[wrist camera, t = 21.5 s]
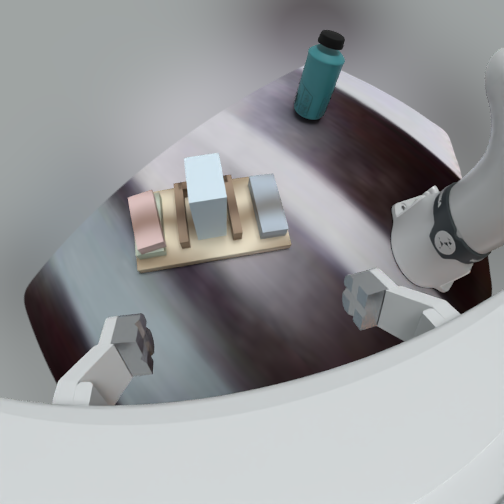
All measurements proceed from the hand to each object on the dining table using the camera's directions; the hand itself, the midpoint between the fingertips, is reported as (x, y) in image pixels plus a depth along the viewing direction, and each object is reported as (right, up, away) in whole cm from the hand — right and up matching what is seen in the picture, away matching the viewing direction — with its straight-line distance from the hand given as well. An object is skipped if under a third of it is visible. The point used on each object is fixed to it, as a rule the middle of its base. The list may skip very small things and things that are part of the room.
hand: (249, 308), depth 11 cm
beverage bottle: (+11, +30, +40) cm, 51 cm away
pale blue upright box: (-6, +7, +29) cm, 30 cm away
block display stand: (-6, +7, +30) cm, 32 cm away
